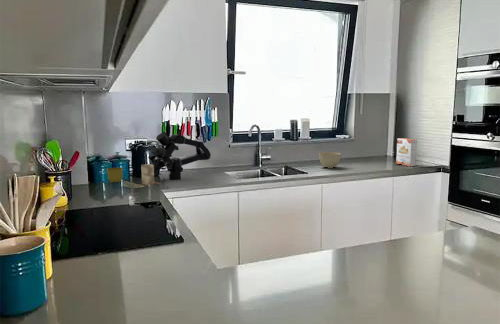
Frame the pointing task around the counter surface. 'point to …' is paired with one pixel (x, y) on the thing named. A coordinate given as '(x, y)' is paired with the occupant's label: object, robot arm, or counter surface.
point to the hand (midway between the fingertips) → (152, 171)
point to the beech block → (147, 174)
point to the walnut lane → (133, 185)
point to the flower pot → (114, 174)
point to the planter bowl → (329, 159)
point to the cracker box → (406, 151)
